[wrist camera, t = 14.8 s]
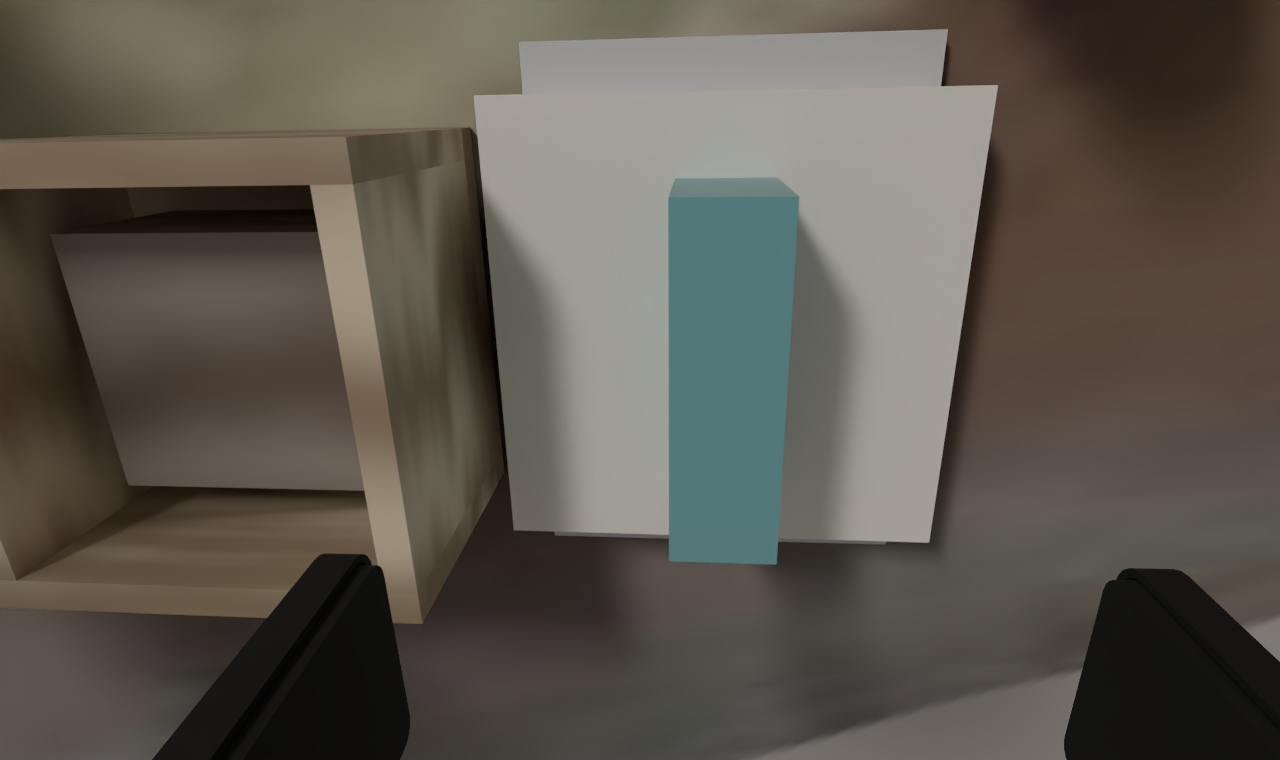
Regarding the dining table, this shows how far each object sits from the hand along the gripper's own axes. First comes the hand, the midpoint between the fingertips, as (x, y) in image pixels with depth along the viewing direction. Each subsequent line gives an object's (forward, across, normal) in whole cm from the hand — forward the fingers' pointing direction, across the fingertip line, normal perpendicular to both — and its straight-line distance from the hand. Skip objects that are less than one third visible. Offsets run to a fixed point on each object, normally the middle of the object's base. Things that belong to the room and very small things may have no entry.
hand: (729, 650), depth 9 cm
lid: (+16, -1, 0) cm, 17 cm away
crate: (+17, +14, 0) cm, 23 cm away
